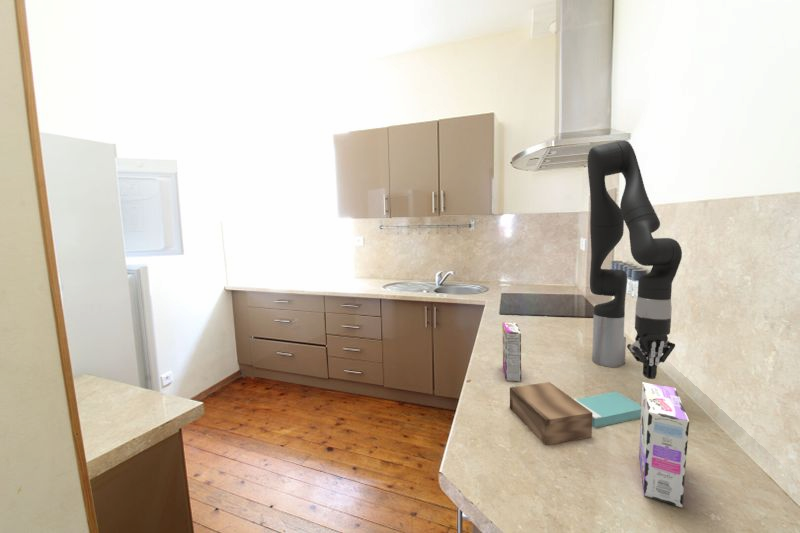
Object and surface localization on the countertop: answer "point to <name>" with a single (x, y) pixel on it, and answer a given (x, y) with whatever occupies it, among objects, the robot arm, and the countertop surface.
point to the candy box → (663, 443)
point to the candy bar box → (511, 351)
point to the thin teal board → (610, 408)
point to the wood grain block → (550, 413)
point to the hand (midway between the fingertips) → (649, 377)
